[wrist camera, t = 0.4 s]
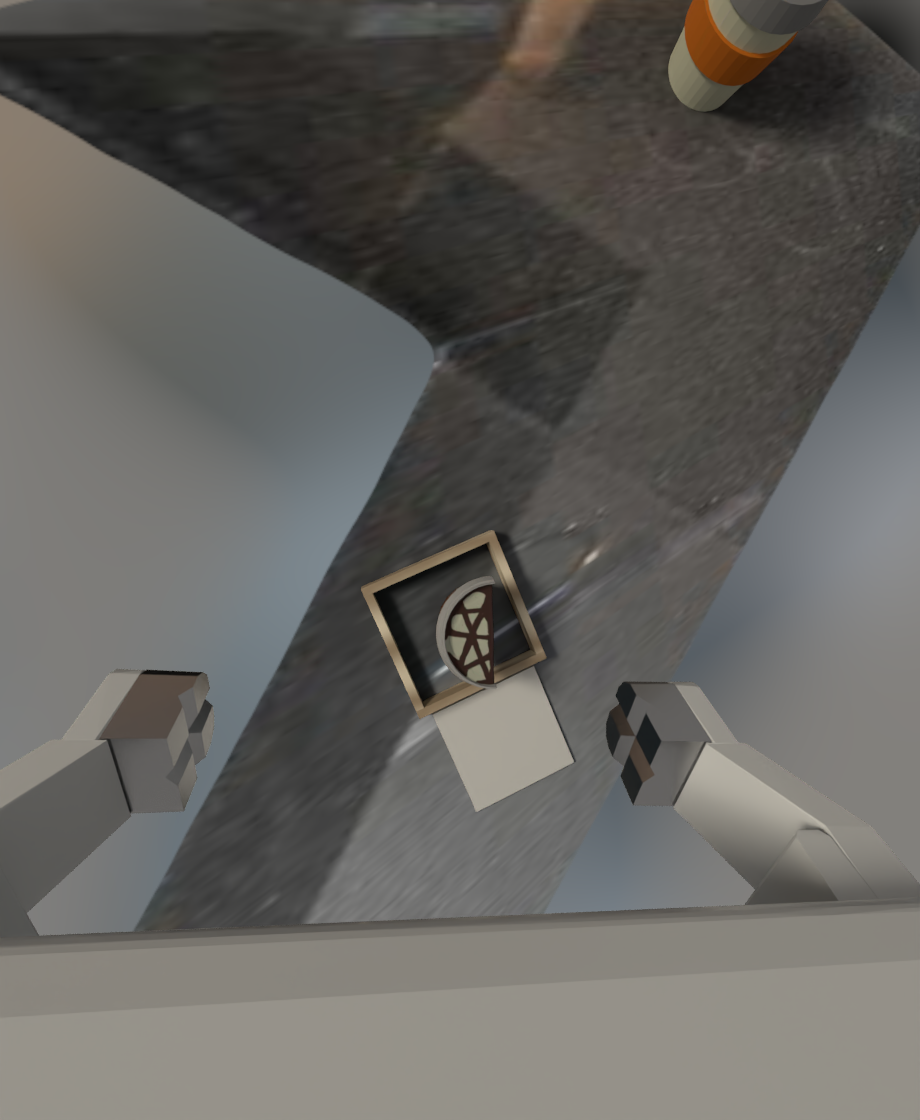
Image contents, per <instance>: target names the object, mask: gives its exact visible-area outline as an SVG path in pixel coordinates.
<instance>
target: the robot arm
mask: <svg viewBox="0 0 920 1120" xmlns="http://www.w3.org/2000/svg"><path fill="white" fill-rule="evenodd" d="M209 689H210V687H209V682H208V677H207V674H205V673H203V672H186V671H163V670H128V669H116V670H114V671H113V672H111V673H110V674H108V676H107V677H106V679H105V680H104V681H103V683H102V684H101V685H100V687H99V688H98V690H97V691H96V692H95V694H94V695H93V696H92V698H91V699H90V701H89V702H88V703H87V705H86V706H85V707H84V709H83V710H82V712H81V713H80V715H79V716H78V717H77V719H76V720H75V721H74V723H73V724H72V726H71V727H70V728H69V730H68V731H67V732H66V734H65V735H64V737H63V738H62V739H61V740H50V741H49V742H47V743H45V744H44V745H42V746H40V747H39V748H37V749H35V750H33V751H32V752H30V753H28V754H27V755H25V756H23V757H22V758H20V759H18V760H17V761H15V762H13V763H11V764H10V765H8V766H6V767H5V768H3V769H1V770H0V1120H920V884H919V883H918V882H917V880H916V879H915V878H914V877H913V876H912V874H911V873H910V872H909V871H908V869H907V868H906V867H905V866H904V865H903V863H902V862H901V861H900V860H899V859H898V857H897V856H896V855H895V854H894V853H893V851H892V850H891V849H890V848H889V847H888V845H887V844H886V843H885V842H884V840H883V839H882V838H881V837H880V836H879V834H878V833H877V832H876V831H875V830H874V828H873V827H872V826H870V825H868V824H867V823H865V822H864V821H862V820H861V819H859V818H858V817H856V816H855V815H853V814H852V813H850V812H849V811H847V810H846V809H844V808H843V807H841V806H840V805H838V804H837V803H835V802H834V801H832V800H831V799H829V798H828V797H826V796H824V795H823V794H822V793H820V792H818V791H817V790H816V789H814V788H812V787H811V786H809V785H808V784H806V783H805V782H803V781H802V780H800V779H799V778H797V777H796V776H794V775H793V774H791V773H790V772H788V771H787V770H785V769H784V768H782V767H781V766H779V765H778V764H776V763H775V762H773V761H772V760H770V759H769V758H767V757H766V756H764V755H762V754H761V753H760V752H758V751H757V750H755V749H753V748H752V747H751V746H749V745H748V744H746V743H738V742H737V741H736V739H735V738H734V736H733V735H732V733H731V732H730V730H729V729H728V728H727V726H726V725H725V723H724V722H723V720H722V719H721V718H720V716H719V715H718V713H717V712H716V710H715V709H714V708H713V706H712V705H711V703H710V702H709V700H708V699H707V698H706V696H705V695H704V693H703V692H702V690H701V689H700V688H699V686H697V685H696V684H695V683H693V682H625V681H623V683H622V684H621V685H620V686H619V687H618V690H617V693H616V695H615V696H616V698H617V700H618V702H619V704H618V705H617V706H616V707H614V708H613V709H612V710H611V711H610V712H609V715H608V719H607V722H606V738H607V743H608V747H609V750H610V752H611V755H612V757H613V758H614V759H615V760H617V761H618V762H619V763H620V764H621V765H622V766H624V767H623V770H622V773H621V778H622V781H623V783H624V785H625V788H626V790H627V792H628V795H629V797H630V799H631V802H632V804H633V805H643V806H674V809H675V810H676V811H677V812H678V813H679V814H680V815H681V816H682V817H683V818H684V819H685V820H686V821H687V822H688V823H689V824H690V825H691V826H692V827H693V828H694V829H695V830H696V831H697V832H698V833H699V834H700V835H701V836H702V837H703V838H704V839H705V840H706V841H707V842H708V843H709V844H710V845H711V846H712V847H713V848H714V849H715V850H716V851H717V852H718V853H719V854H720V855H721V856H722V857H723V858H724V859H725V860H726V861H727V862H728V863H729V864H730V865H731V866H732V867H733V868H734V869H735V870H736V871H737V872H738V873H739V874H740V875H741V876H742V877H743V878H744V879H745V880H746V881H747V882H748V883H749V884H750V885H751V886H752V887H753V888H754V889H755V891H754V892H753V894H752V895H751V896H750V898H749V899H748V901H747V902H746V903H745V905H734V906H712V907H689V908H666V909H643V910H621V911H598V912H576V913H552V914H528V915H505V916H482V917H458V918H435V919H411V920H388V921H365V922H342V923H319V924H296V925H273V926H250V927H227V928H204V929H181V930H158V931H135V932H112V933H91V934H90V933H89V934H67V935H45V936H44V935H43V936H39V934H38V933H37V931H36V929H35V927H34V926H33V924H32V922H31V920H30V919H29V917H28V915H27V912H28V911H29V910H31V909H32V908H33V907H34V906H35V905H36V904H37V903H38V902H39V901H40V900H41V899H42V898H43V897H45V896H46V895H47V894H48V893H49V892H50V891H51V890H52V889H53V888H54V887H55V886H56V885H57V884H59V883H60V882H61V881H62V880H63V879H64V878H65V877H66V876H67V875H68V874H69V873H70V872H72V871H73V870H74V869H75V868H76V867H77V866H78V865H79V864H80V863H81V862H82V861H83V860H84V859H86V858H87V857H88V855H90V854H91V853H92V852H93V851H94V850H95V849H96V848H97V847H98V846H99V845H100V844H102V843H103V842H104V841H105V840H106V839H107V838H108V837H109V836H110V835H111V834H112V833H114V832H115V831H116V830H117V829H118V828H119V827H120V826H121V825H122V824H123V823H124V822H125V821H126V820H128V819H129V818H130V816H131V815H130V813H151V812H152V813H155V812H180V811H184V809H185V807H186V804H187V802H188V800H189V797H190V795H191V792H192V790H193V787H194V785H195V782H196V780H197V774H196V769H195V765H196V764H197V763H199V762H200V761H201V760H202V759H204V758H205V757H206V755H207V752H208V749H209V747H210V744H211V739H212V735H213V730H214V711H213V706H212V705H211V704H210V703H209V702H208V701H206V700H205V698H206V695H207V693H208V691H209Z"/></svg>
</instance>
